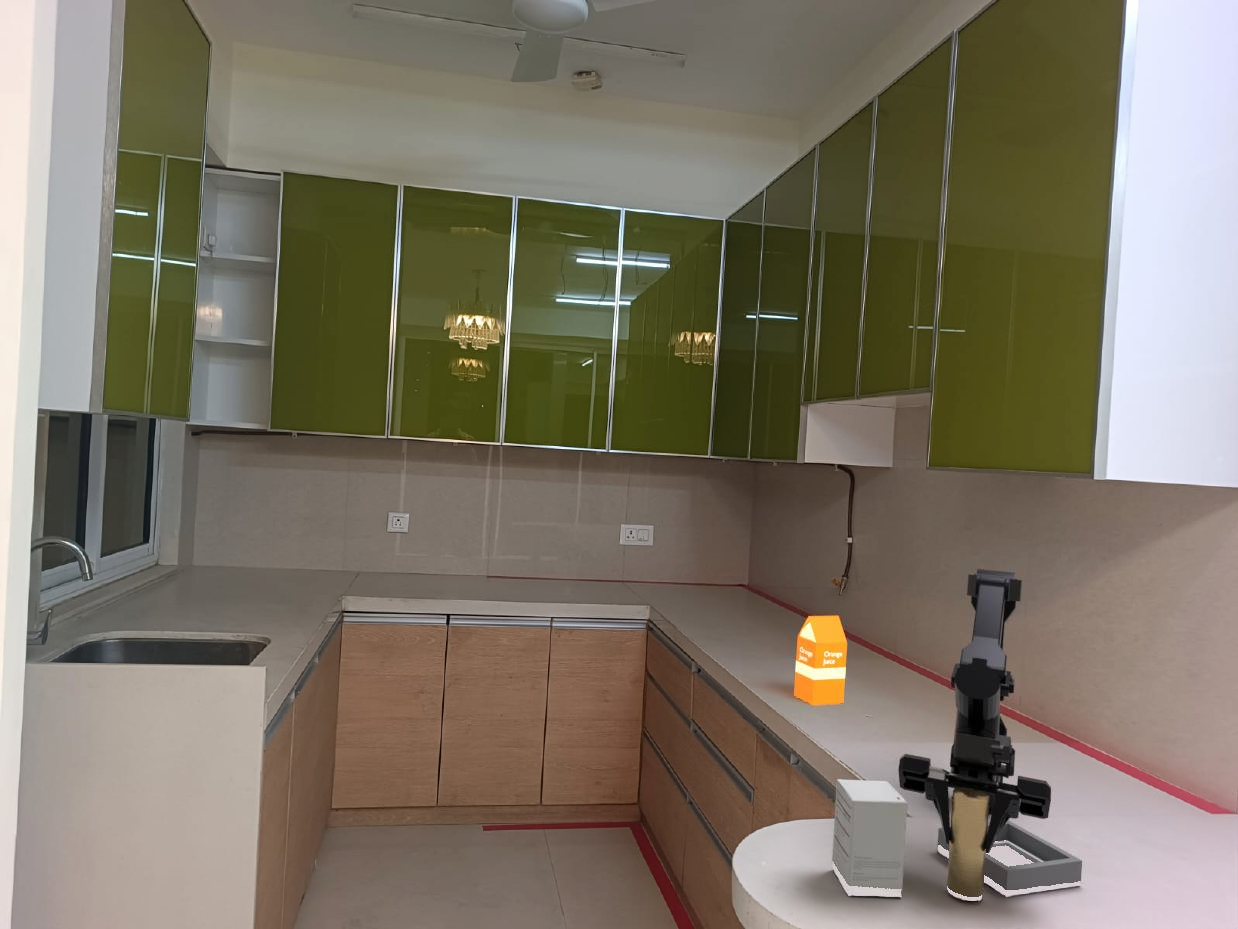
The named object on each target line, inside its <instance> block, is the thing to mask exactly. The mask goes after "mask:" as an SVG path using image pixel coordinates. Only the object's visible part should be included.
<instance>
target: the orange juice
mask: <svg viewBox="0 0 1238 929" xmlns="http://www.w3.org/2000/svg"><path fill="white" fill-rule="evenodd" d="M847 651H848V641H847V639H846V635H845V632H844V629H843V625H842V622H841V619H840V615H808V617H807V618H806V620H805V622H804V624H803V626H802V627H801V629H800V631H799V633H798V635H797V644H796V657H795V658H796V659H795V671H794V672H795V673H794V674H795V676H794V687H793V688H794V690H793V692H794V693H793V697H794V696H796V697H797V698H796V697H795V698H796V699H798V698H800V699H802V700H803V701H802V700H801V701H802V702H804V701H805V703H806V702H808V703H809V705H810V704H811V705H810V706H812V705H814V706H826V705H827V704H828V705H829V704H830V705H841V704H840V703H843V704H844V701H845V700H844V699H845V698H844V697H845V683H846V669H847V667H846V665H847ZM800 699H799V700H800ZM808 703H807V704H808ZM828 705H827V706H828Z"/></svg>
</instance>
